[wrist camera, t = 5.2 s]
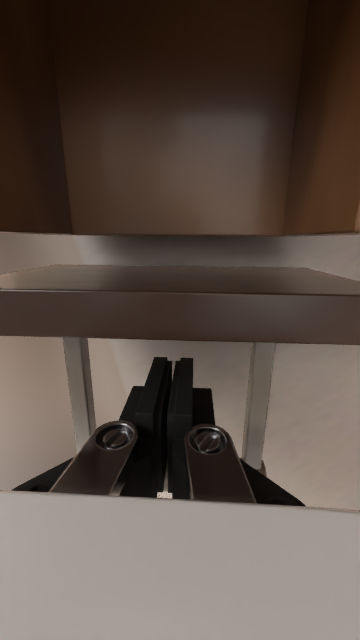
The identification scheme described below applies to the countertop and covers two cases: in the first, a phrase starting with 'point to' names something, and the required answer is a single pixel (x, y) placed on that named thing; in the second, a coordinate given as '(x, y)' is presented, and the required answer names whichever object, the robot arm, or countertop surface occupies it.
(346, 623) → the robot arm
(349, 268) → the countertop surface
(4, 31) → the drawer
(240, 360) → the countertop surface
